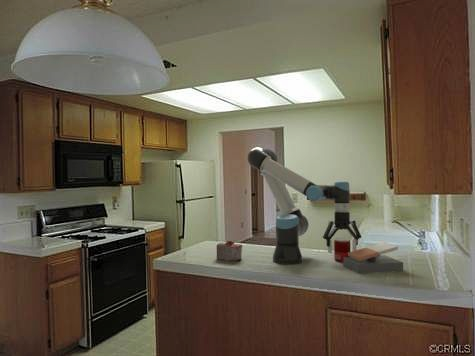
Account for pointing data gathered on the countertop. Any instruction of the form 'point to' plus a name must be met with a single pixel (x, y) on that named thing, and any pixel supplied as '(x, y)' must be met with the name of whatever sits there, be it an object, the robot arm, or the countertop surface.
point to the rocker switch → (372, 251)
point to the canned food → (341, 249)
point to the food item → (229, 251)
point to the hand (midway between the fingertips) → (342, 252)
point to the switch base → (373, 264)
